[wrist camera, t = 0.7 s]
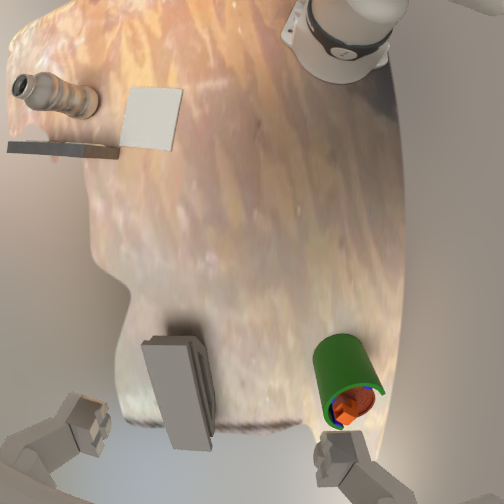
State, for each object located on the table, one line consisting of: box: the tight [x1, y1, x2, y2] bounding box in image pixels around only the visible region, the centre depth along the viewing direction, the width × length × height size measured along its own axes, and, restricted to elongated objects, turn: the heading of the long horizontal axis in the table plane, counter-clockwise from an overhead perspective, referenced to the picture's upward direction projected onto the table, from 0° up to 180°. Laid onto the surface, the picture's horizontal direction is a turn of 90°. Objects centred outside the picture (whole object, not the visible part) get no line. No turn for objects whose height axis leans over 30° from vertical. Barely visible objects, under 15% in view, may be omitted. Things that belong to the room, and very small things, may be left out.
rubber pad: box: [119, 87, 183, 151], centre depth 50 cm, size 11×10×1 cm
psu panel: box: [7, 141, 120, 159], centre depth 47 cm, size 2×18×12 cm, turn 80°
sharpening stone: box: [141, 336, 215, 451], centre depth 56 cm, size 25×8×11 cm, turn 5°
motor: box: [313, 334, 386, 430], centre depth 49 cm, size 10×9×20 cm
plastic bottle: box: [11, 72, 98, 119], centre depth 41 cm, size 6×7×20 cm
